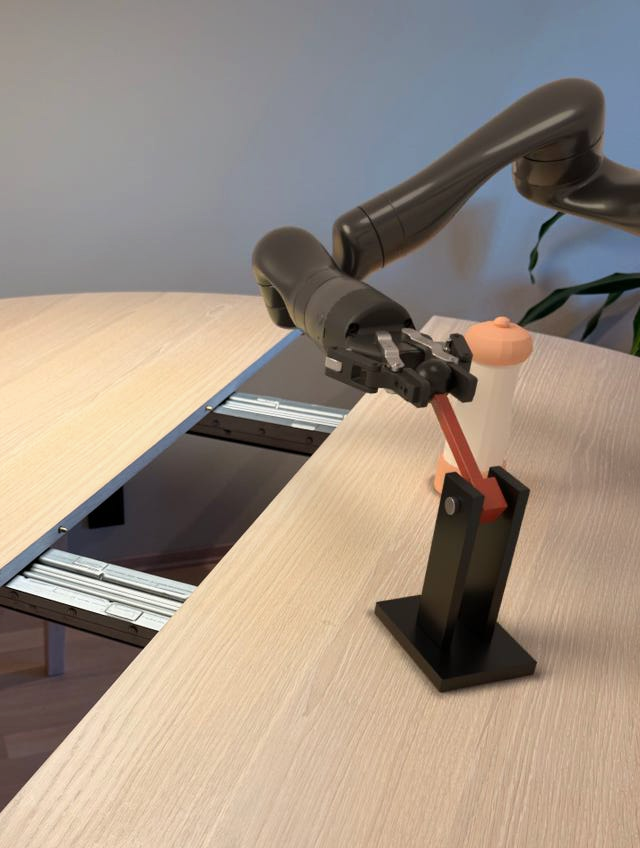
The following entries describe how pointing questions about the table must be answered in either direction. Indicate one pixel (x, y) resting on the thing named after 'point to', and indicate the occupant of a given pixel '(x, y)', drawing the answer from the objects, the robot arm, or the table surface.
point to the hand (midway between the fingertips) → (447, 393)
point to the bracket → (464, 591)
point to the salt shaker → (489, 395)
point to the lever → (459, 438)
